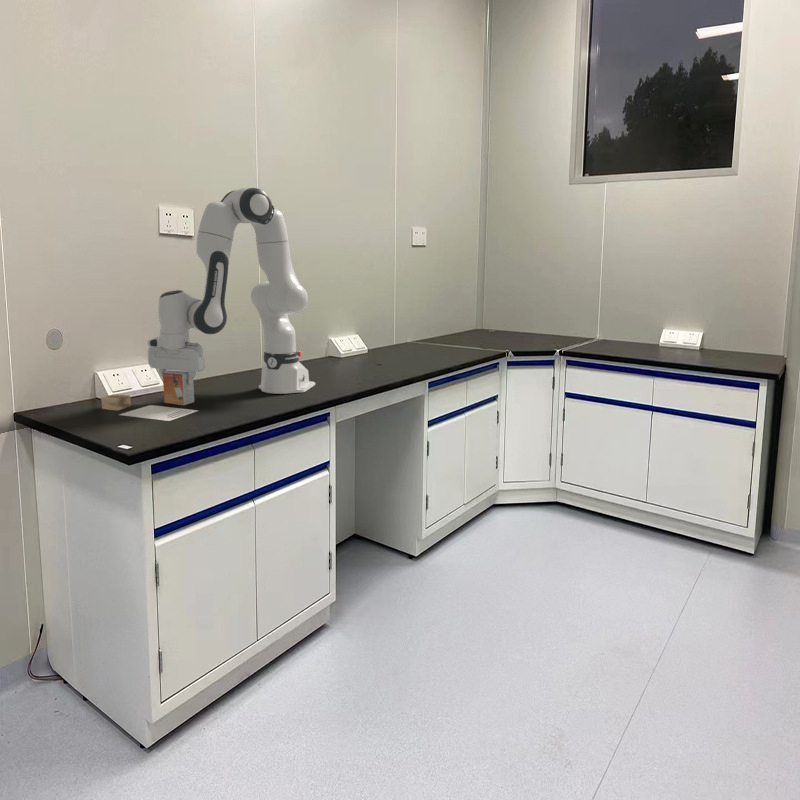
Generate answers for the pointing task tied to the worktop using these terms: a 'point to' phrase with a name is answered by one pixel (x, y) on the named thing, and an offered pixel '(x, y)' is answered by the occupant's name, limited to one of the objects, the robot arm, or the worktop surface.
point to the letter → (159, 412)
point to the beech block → (116, 402)
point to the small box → (177, 388)
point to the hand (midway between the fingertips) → (178, 383)
